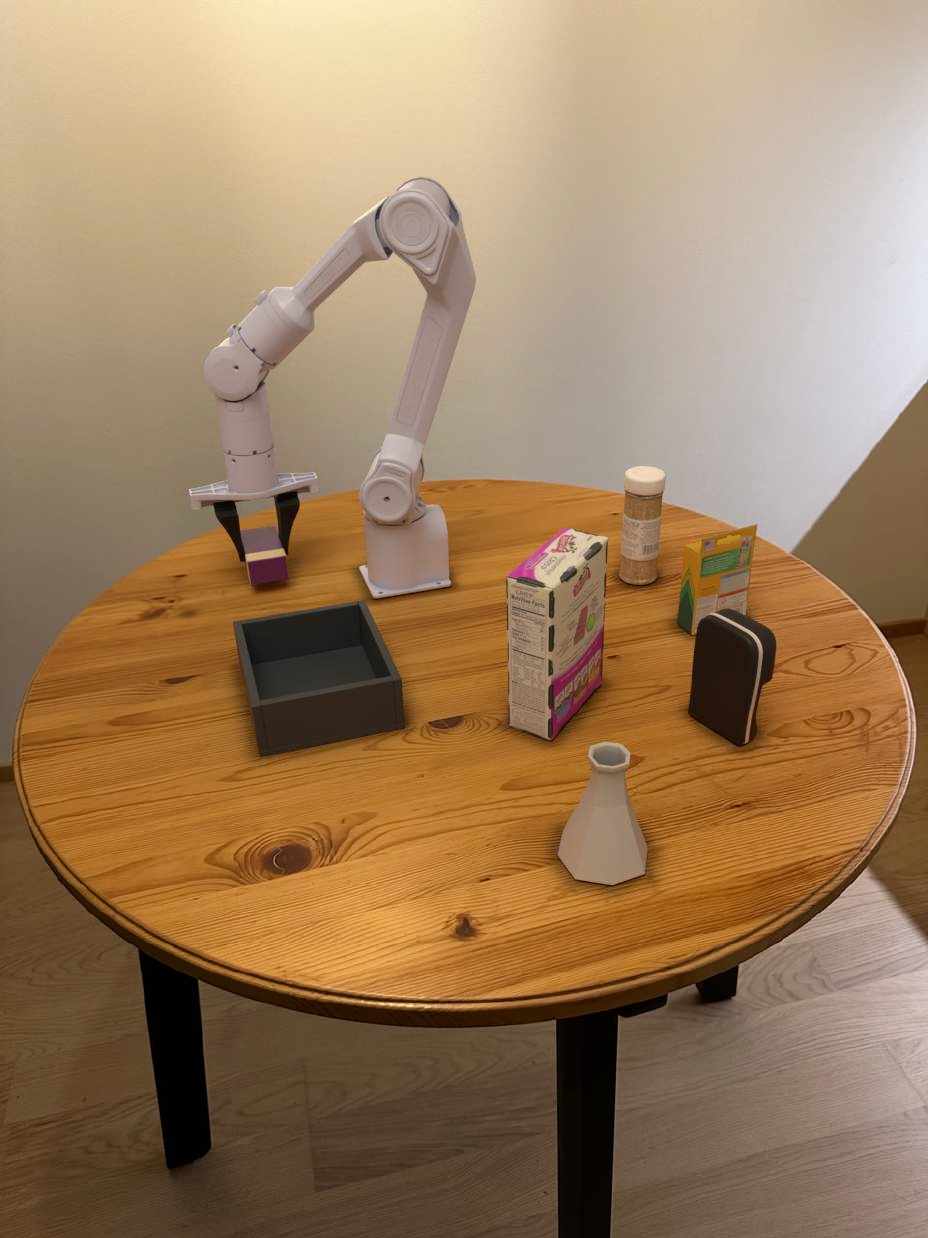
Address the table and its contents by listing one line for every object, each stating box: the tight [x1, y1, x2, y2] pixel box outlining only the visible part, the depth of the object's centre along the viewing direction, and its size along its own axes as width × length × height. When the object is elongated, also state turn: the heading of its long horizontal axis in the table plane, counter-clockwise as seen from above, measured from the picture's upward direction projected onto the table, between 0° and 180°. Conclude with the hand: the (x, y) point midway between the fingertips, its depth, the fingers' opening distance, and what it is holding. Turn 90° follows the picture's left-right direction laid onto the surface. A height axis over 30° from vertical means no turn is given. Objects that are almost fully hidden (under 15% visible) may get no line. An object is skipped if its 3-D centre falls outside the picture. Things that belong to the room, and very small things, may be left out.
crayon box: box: [676, 523, 758, 637], centre depth 106 cm, size 7×3×12 cm, turn 115°
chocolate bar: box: [240, 525, 290, 586], centre depth 119 cm, size 4×9×3 cm, turn 17°
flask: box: [557, 741, 649, 886], centre depth 76 cm, size 7×7×10 cm
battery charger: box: [687, 608, 777, 746], centre depth 90 cm, size 7×4×11 cm, turn 35°
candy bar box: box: [505, 527, 609, 742], centre depth 92 cm, size 11×5×16 cm, turn 148°
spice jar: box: [618, 465, 667, 586], centre depth 115 cm, size 5×5×14 cm
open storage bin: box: [232, 599, 405, 758], centre depth 97 cm, size 14×16×6 cm
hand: (263, 555), depth 119 cm, fingers closed on chocolate bar, 4 cm apart
